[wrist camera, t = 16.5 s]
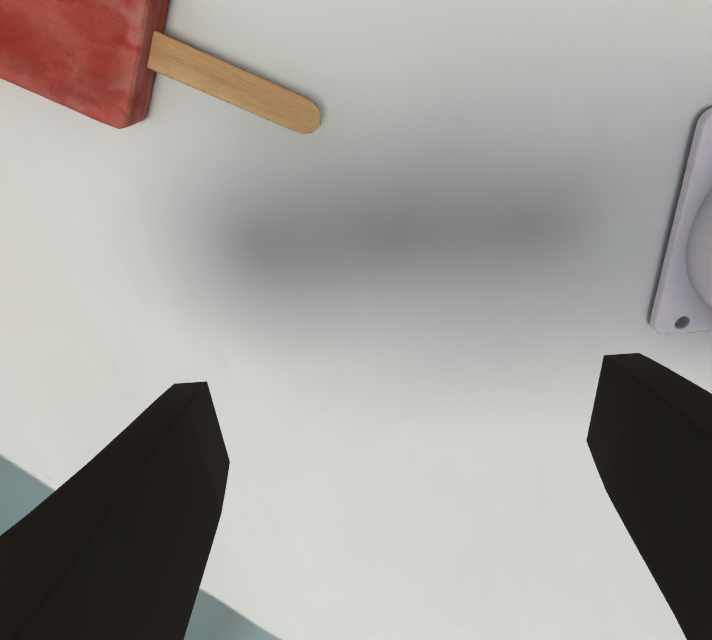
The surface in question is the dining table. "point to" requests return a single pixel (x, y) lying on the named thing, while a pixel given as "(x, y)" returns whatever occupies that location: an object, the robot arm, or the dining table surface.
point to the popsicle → (125, 62)
